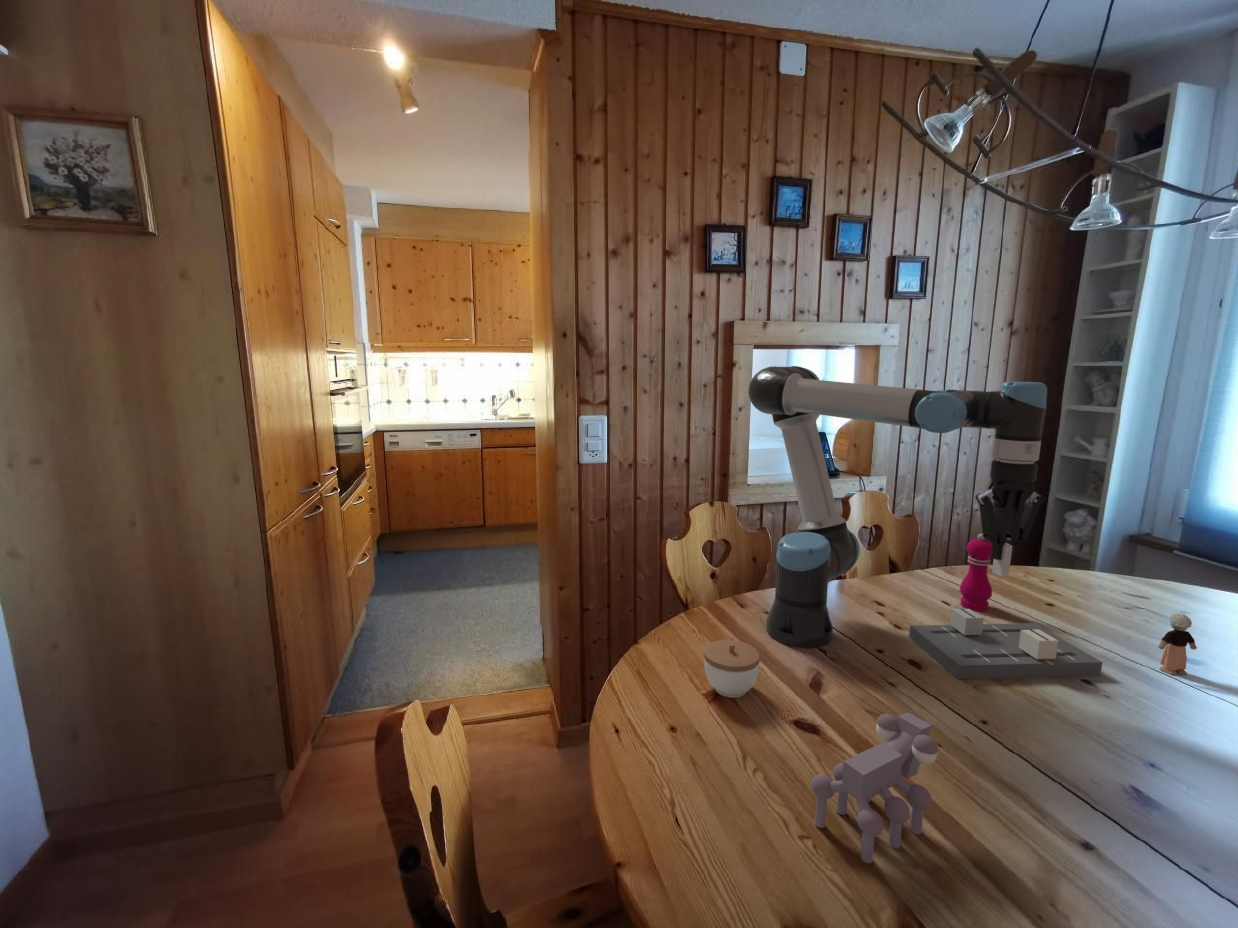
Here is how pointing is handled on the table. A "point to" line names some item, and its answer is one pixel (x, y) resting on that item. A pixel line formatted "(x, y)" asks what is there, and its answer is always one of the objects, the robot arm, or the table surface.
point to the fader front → (1038, 644)
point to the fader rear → (967, 621)
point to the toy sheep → (882, 780)
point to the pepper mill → (977, 576)
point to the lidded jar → (731, 667)
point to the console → (999, 653)
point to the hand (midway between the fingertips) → (1000, 574)
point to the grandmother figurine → (1176, 645)
